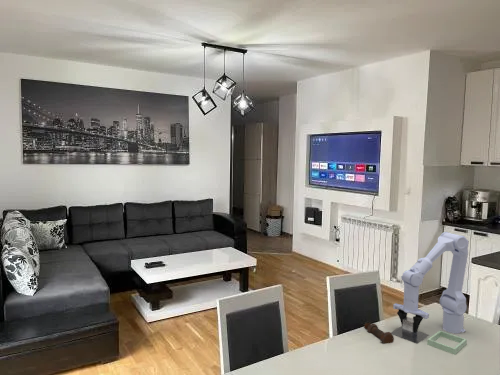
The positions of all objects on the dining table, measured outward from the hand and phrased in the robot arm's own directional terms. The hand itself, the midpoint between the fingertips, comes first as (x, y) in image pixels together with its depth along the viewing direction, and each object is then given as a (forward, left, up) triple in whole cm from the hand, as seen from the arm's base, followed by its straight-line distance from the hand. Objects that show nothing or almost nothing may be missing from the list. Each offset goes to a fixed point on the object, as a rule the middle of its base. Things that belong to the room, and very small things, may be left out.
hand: (409, 329), depth 157 cm
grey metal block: (0, 0, -2) cm, 2 cm away
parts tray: (-3, +14, -3) cm, 15 cm away
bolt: (+11, -9, -3) cm, 15 cm away
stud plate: (0, 0, -3) cm, 3 cm away
